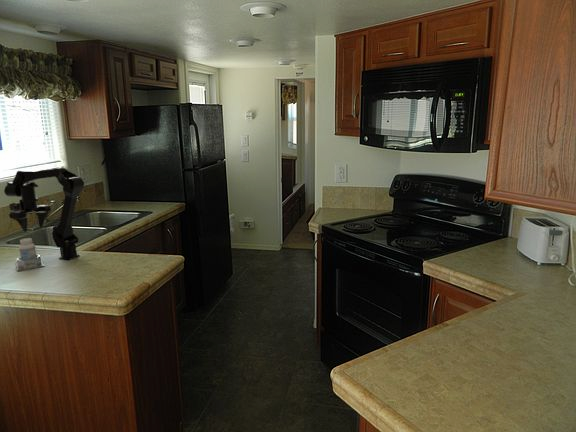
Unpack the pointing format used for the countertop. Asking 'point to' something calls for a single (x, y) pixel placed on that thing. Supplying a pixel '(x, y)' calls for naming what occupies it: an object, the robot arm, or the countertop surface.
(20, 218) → the robot arm
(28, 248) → the pill bottle
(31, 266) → the grey open tray
